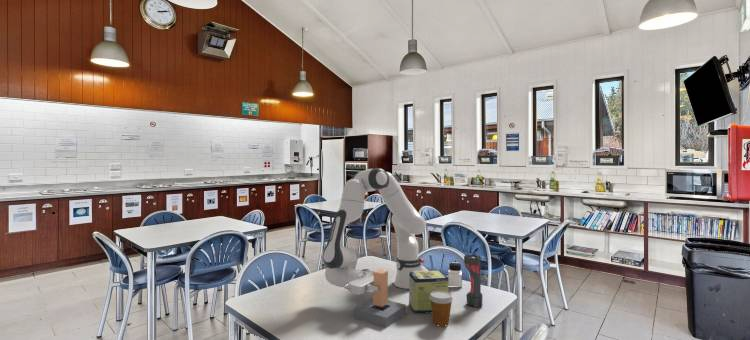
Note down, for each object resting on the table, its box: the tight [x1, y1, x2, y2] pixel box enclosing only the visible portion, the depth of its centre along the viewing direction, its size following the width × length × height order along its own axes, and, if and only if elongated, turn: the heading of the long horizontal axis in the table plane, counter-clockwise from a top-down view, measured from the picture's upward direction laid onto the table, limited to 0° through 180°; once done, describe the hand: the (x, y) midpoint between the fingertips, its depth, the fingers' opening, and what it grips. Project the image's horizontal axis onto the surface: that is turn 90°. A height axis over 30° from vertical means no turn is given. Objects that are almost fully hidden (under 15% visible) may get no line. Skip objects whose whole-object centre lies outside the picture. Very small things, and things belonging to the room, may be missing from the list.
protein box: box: [408, 270, 449, 314], centre depth 168 cm, size 10×16×16 cm
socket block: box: [353, 298, 407, 329], centre depth 160 cm, size 16×16×4 cm
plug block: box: [372, 269, 389, 307], centre depth 160 cm, size 4×4×14 cm
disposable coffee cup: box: [429, 291, 454, 327], centre depth 153 cm, size 10×10×12 cm
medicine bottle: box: [447, 261, 463, 288], centre depth 199 cm, size 7×7×12 cm
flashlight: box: [463, 253, 483, 307], centre depth 173 cm, size 8×8×23 cm
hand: (382, 286), depth 159 cm, fingers closed on plug block, 4 cm apart
